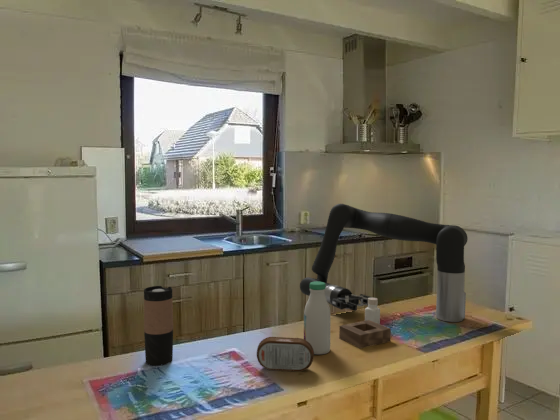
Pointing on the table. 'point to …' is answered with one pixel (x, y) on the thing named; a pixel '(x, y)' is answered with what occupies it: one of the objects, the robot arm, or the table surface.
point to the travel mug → (158, 325)
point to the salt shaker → (372, 311)
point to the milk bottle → (317, 319)
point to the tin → (285, 354)
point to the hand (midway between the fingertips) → (365, 306)
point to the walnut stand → (364, 333)
